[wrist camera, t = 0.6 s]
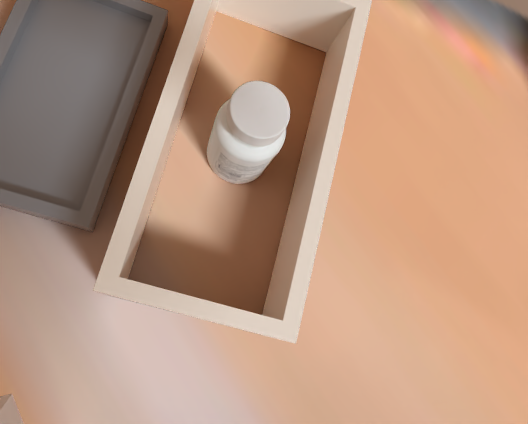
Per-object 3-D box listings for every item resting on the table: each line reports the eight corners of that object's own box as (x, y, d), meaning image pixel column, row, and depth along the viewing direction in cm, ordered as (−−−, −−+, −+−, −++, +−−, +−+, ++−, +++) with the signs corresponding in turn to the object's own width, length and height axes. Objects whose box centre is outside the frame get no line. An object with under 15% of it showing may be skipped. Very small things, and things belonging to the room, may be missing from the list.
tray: (92, 231, 28) (88, 227, 27) (-58, 189, 27) (-71, 182, 25) (167, 24, 32) (168, 10, 31) (41, -22, 31) (35, -39, 30)
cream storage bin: (271, 337, 29) (295, 343, 24) (105, 294, 28) (92, 290, 22) (340, 46, 35) (371, 0, 30) (207, -5, 34) (216, -62, 28)
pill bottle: (275, 176, 32) (309, 137, 25) (216, 191, 31) (234, 154, 23) (256, 120, 32) (285, 65, 25) (198, 133, 31) (210, 79, 24)
